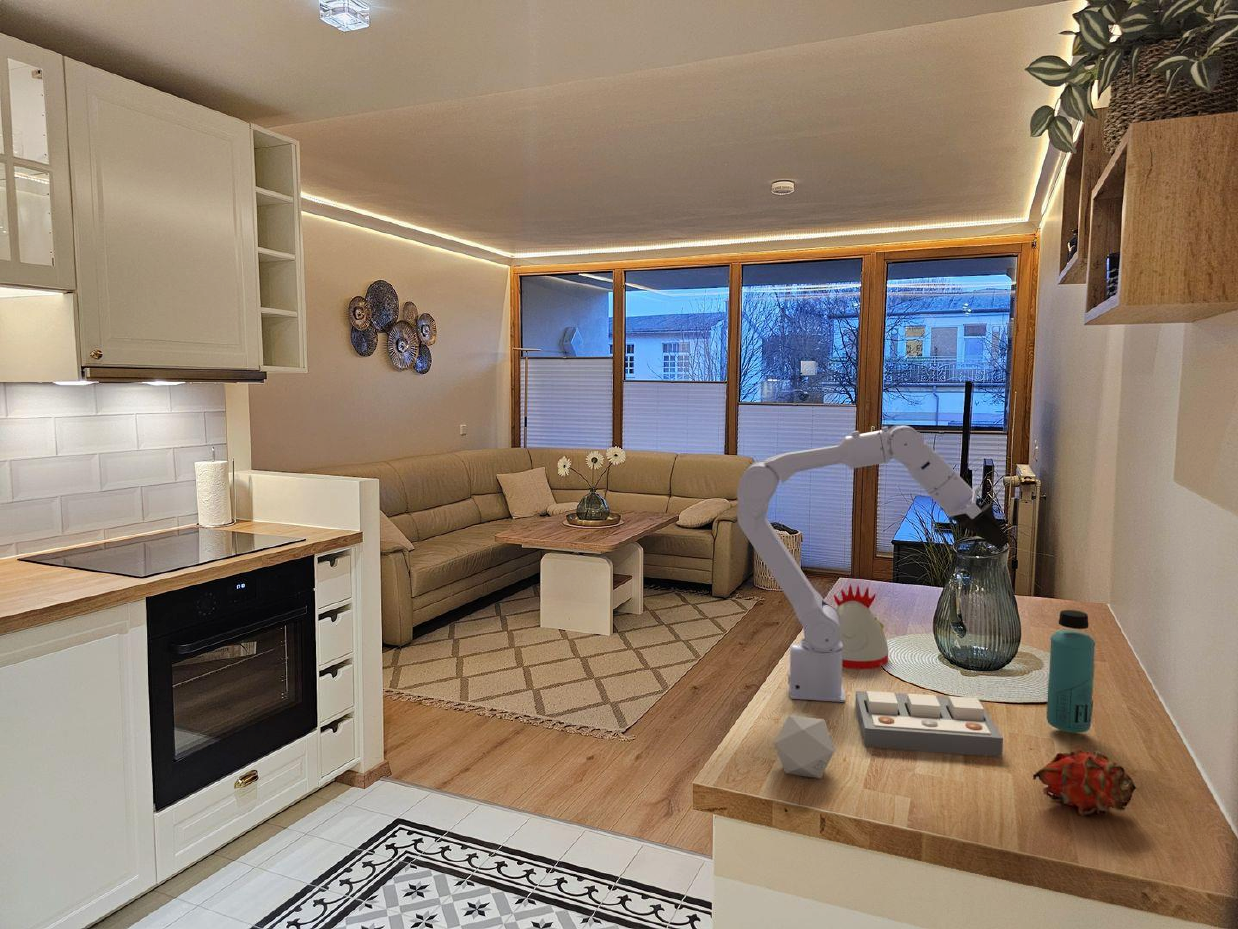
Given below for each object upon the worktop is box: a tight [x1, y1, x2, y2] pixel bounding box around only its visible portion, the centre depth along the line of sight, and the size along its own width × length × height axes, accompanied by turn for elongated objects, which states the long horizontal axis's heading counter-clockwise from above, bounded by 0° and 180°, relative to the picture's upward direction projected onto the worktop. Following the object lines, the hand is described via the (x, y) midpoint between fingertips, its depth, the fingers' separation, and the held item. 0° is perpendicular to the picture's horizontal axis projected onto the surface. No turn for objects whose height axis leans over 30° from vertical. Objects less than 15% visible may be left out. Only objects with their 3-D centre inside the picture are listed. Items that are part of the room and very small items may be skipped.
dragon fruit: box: [1032, 748, 1137, 817], centre depth 108 cm, size 8×8×12 cm
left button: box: [866, 690, 898, 715], centre depth 134 cm, size 4×4×2 cm
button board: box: [854, 690, 1004, 757], centre depth 132 cm, size 20×15×3 cm
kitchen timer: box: [833, 584, 889, 670], centre depth 165 cm, size 14×14×15 cm
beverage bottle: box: [1045, 609, 1096, 734], centre depth 130 cm, size 6×7×20 cm
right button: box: [948, 695, 985, 721], centre depth 132 cm, size 4×4×2 cm
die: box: [774, 714, 836, 780], centre depth 119 cm, size 8×9×10 cm
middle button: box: [906, 693, 941, 718], centre depth 133 cm, size 4×4×2 cm
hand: (998, 541), depth 138 cm, fingers open, 7 cm apart
